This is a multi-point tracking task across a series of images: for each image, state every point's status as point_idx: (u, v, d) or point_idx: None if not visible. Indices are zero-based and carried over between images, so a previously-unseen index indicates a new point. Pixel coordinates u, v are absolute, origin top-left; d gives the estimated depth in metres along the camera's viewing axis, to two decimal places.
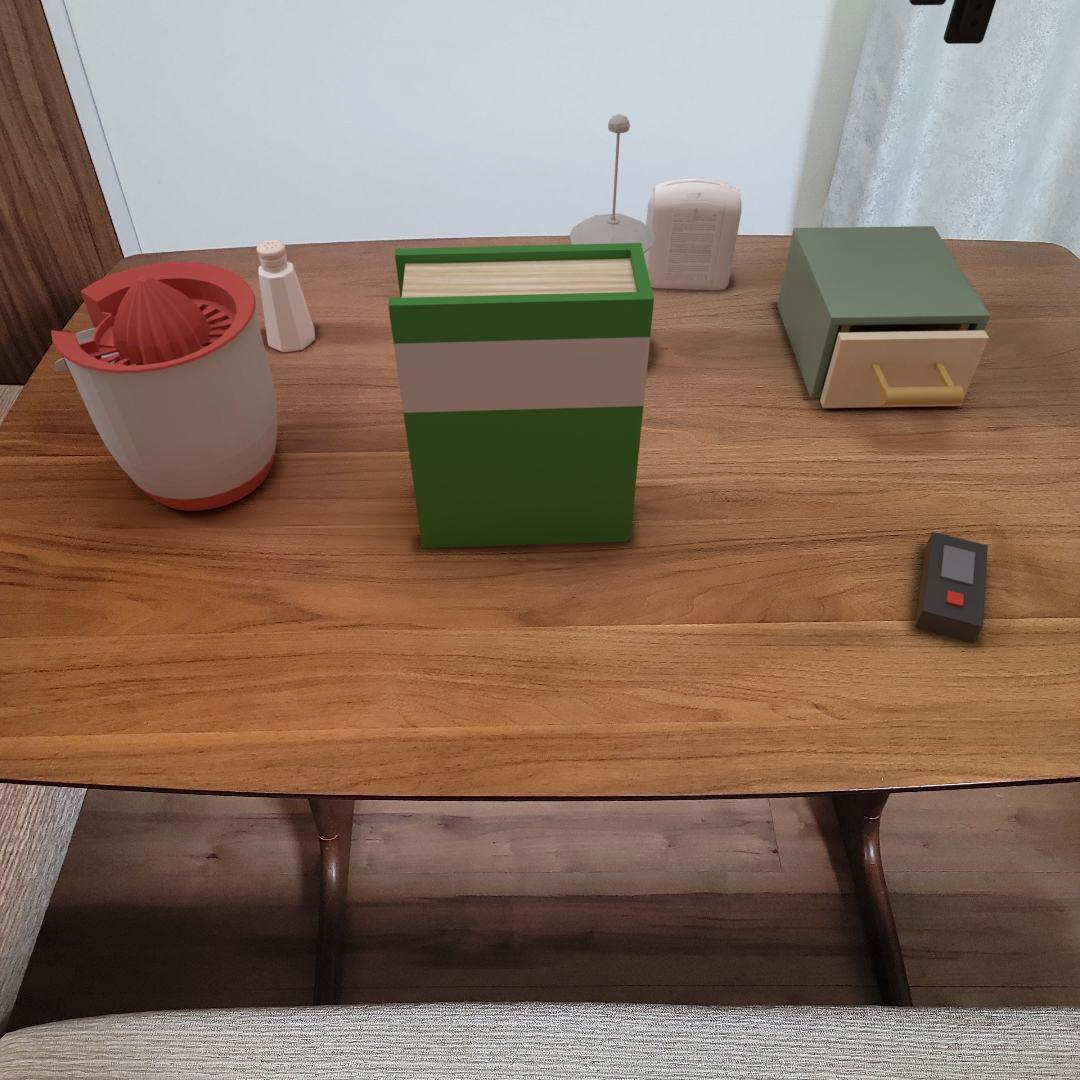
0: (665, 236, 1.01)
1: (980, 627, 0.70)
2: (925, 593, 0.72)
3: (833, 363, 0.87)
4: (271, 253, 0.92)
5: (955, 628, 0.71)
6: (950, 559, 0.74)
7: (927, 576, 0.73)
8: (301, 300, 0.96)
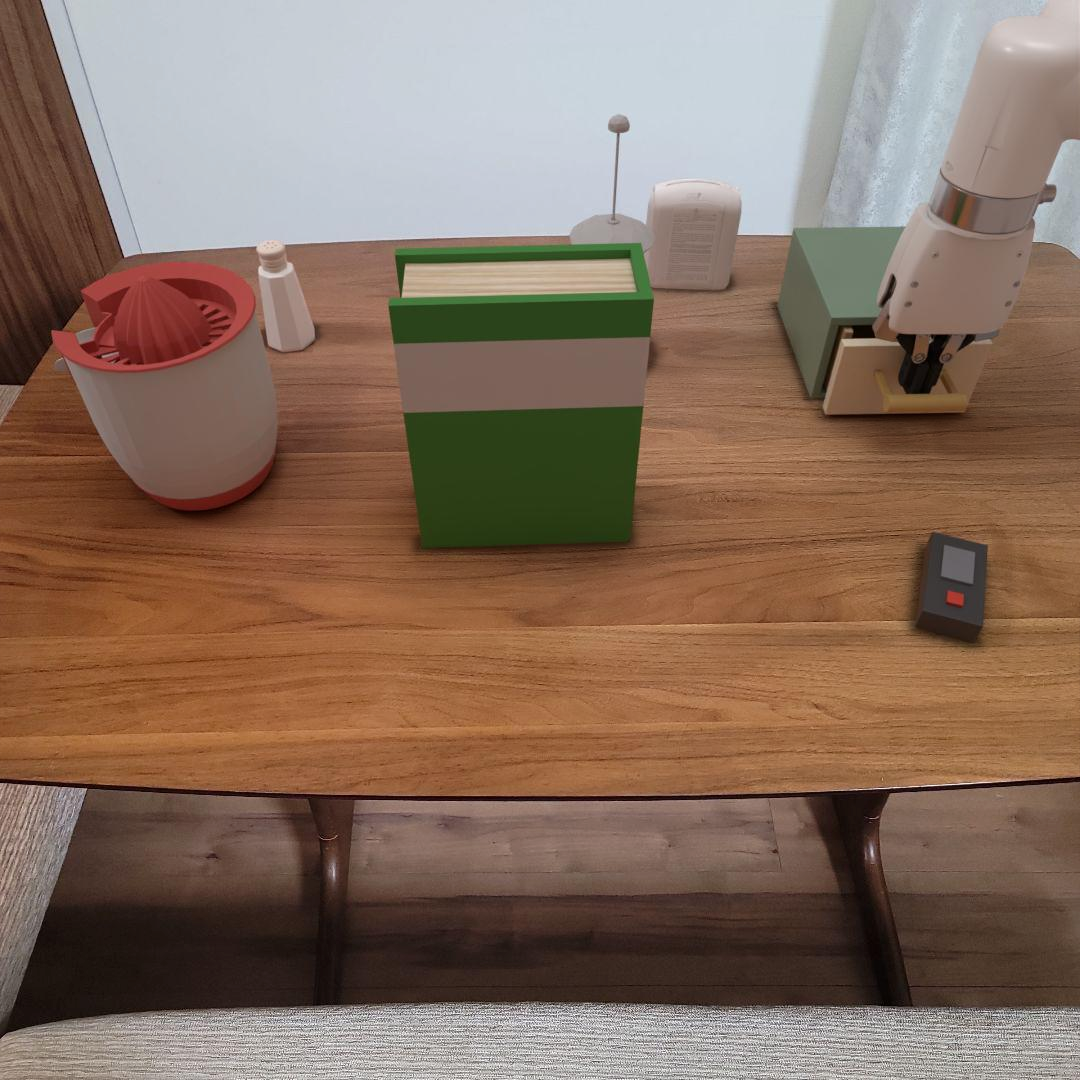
0: (665, 236, 1.01)
1: (980, 627, 0.70)
2: (925, 593, 0.72)
3: (836, 370, 0.86)
4: (271, 253, 0.92)
5: (955, 628, 0.71)
6: (950, 559, 0.74)
7: (927, 576, 0.73)
8: (301, 300, 0.96)
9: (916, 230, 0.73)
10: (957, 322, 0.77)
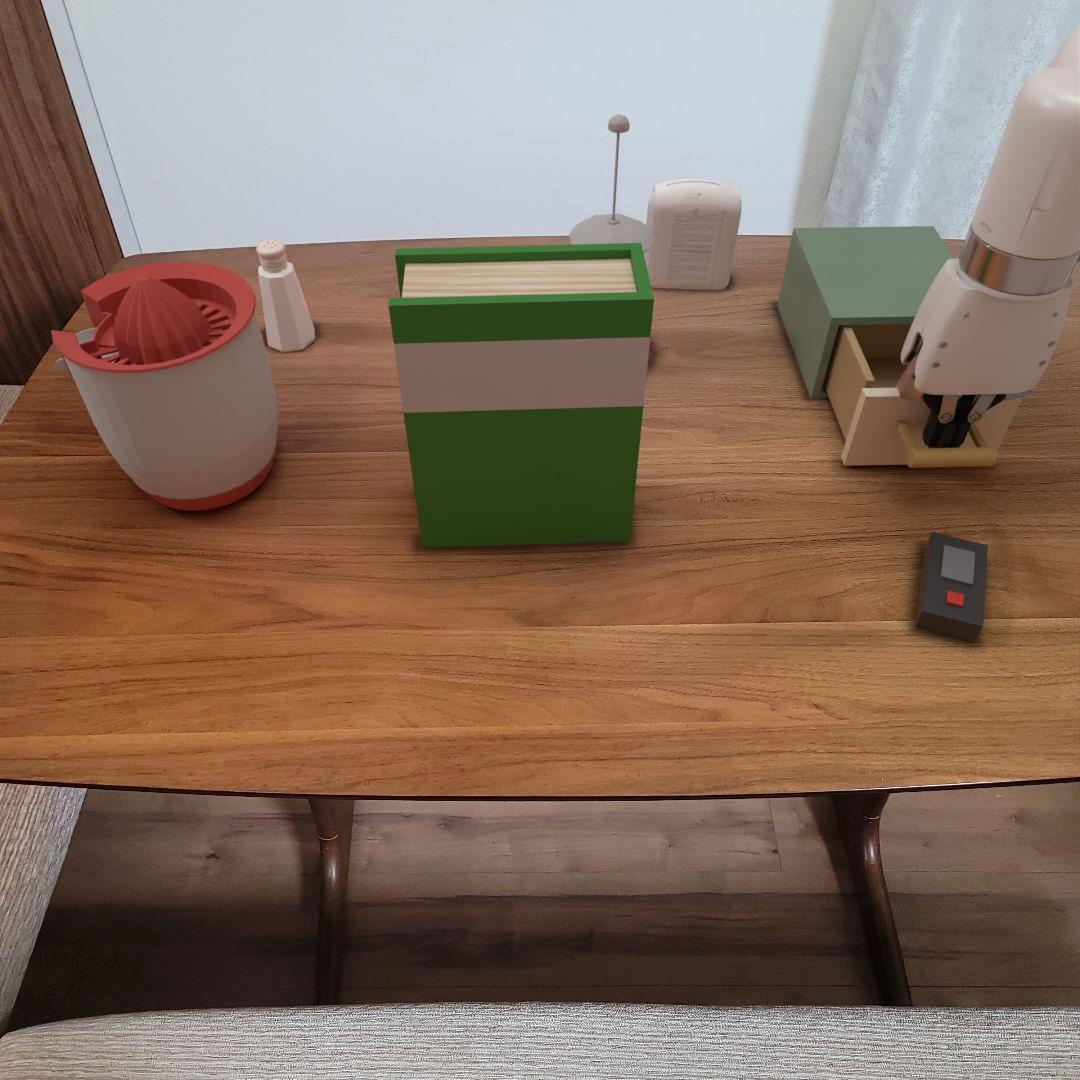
0: (665, 236, 1.01)
1: (980, 627, 0.70)
2: (925, 593, 0.72)
3: (856, 420, 0.81)
4: (271, 253, 0.92)
5: (955, 628, 0.71)
6: (950, 559, 0.74)
7: (927, 576, 0.73)
8: (301, 300, 0.96)
9: (944, 289, 0.69)
10: (987, 382, 0.73)
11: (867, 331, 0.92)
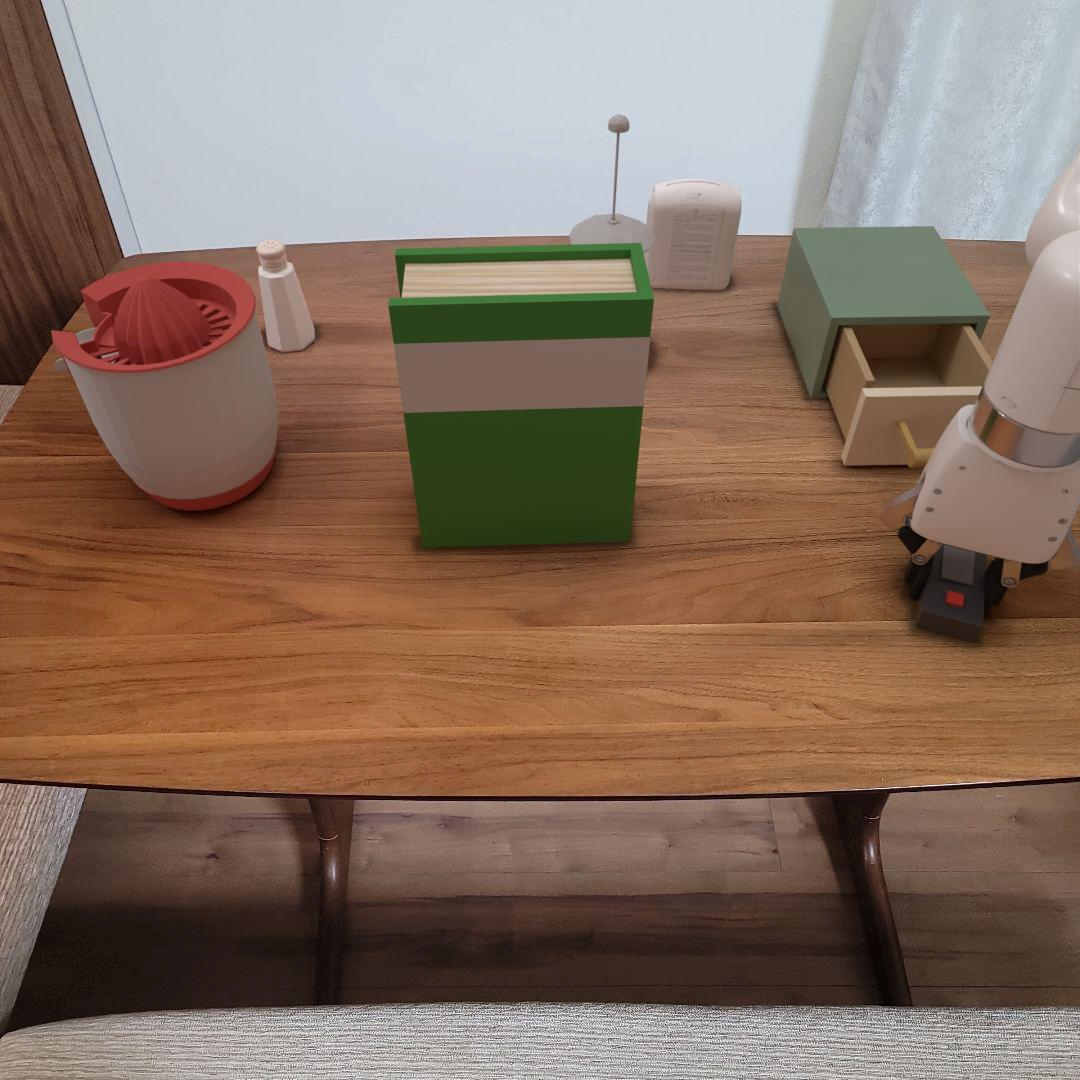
0: (665, 236, 1.01)
1: (980, 627, 0.70)
2: (925, 593, 0.72)
3: (856, 420, 0.81)
4: (271, 253, 0.92)
5: (955, 628, 0.71)
6: (950, 559, 0.74)
7: None
8: (301, 300, 0.96)
9: (950, 434, 0.64)
10: (989, 543, 0.67)
11: (867, 331, 0.92)
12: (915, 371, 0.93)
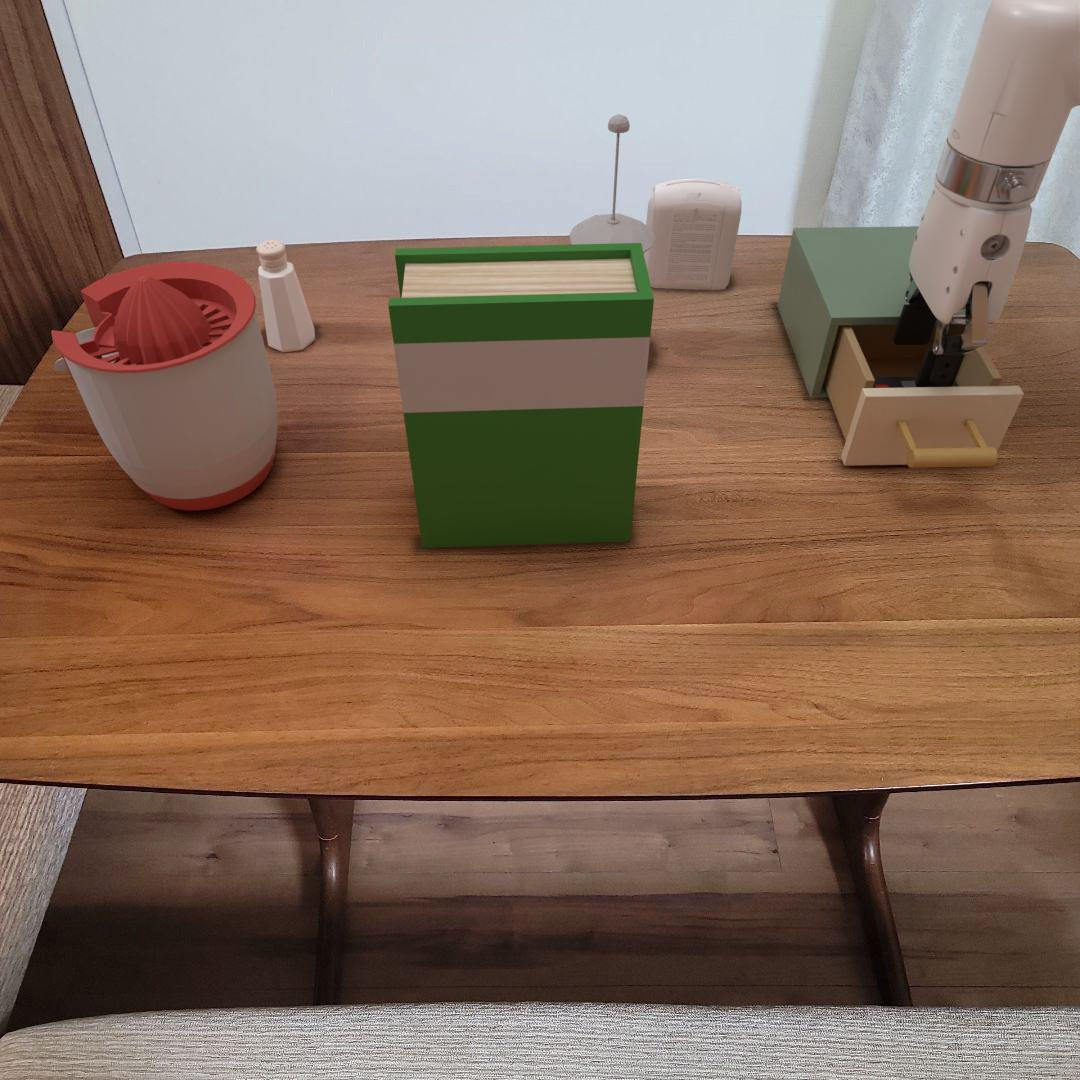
0: (665, 236, 1.01)
1: None
2: (875, 377, 0.88)
3: (856, 420, 0.81)
4: (271, 253, 0.92)
5: None
6: None
7: (895, 377, 0.88)
8: (301, 300, 0.96)
9: None
10: (926, 285, 0.77)
11: (867, 331, 0.92)
12: (915, 371, 0.93)
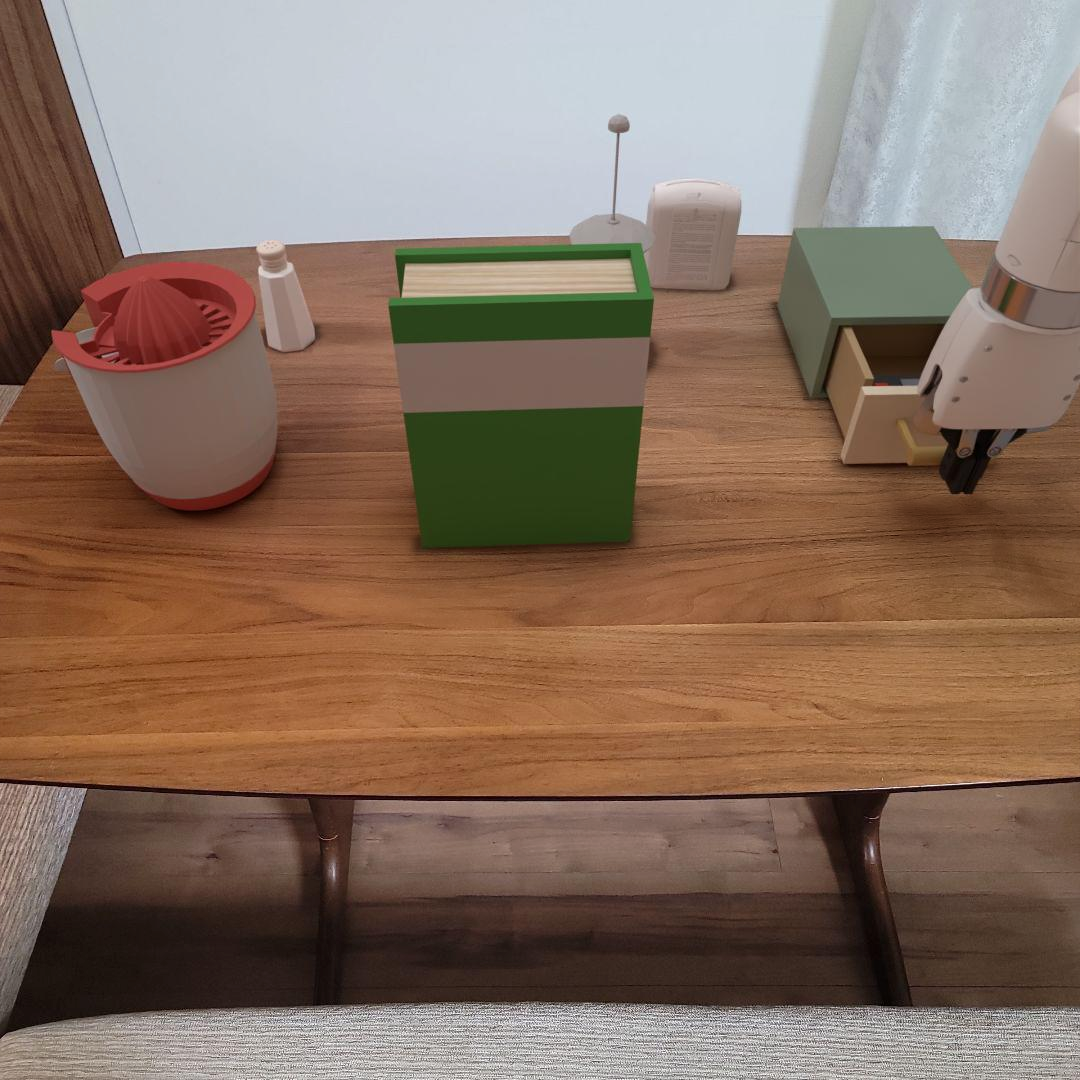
0: (665, 236, 1.01)
1: None
2: None
3: (855, 418, 0.81)
4: (271, 253, 0.92)
5: None
6: None
7: (894, 375, 0.88)
8: (301, 300, 0.96)
9: (966, 320, 0.65)
10: (1009, 417, 0.69)
11: (866, 329, 0.92)
12: (914, 369, 0.93)
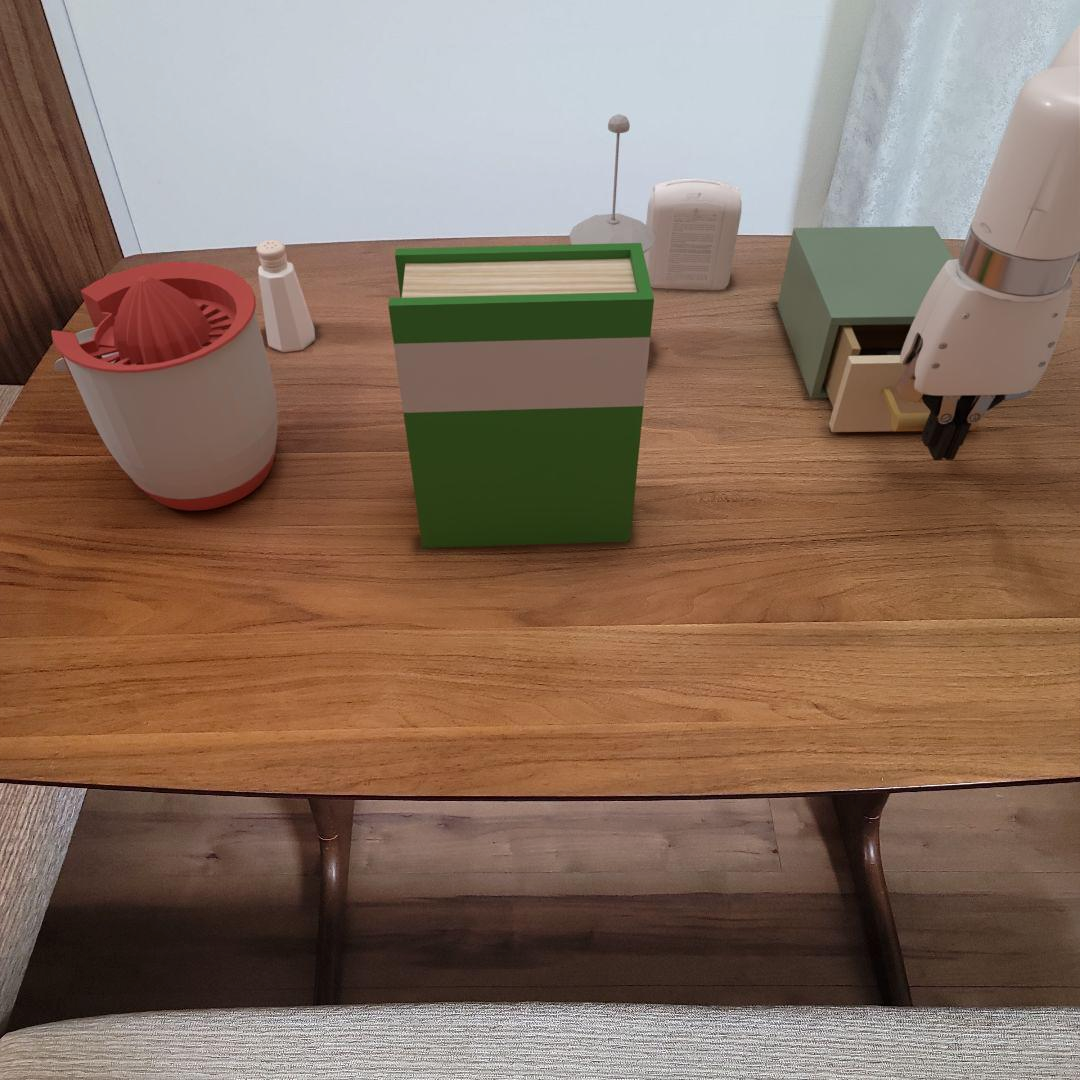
0: (665, 236, 1.01)
1: None
2: (862, 348, 0.91)
3: (843, 387, 0.84)
4: (271, 253, 0.92)
5: None
6: None
7: None
8: (301, 300, 0.96)
9: (945, 289, 0.69)
10: (987, 383, 0.73)
11: None
12: (901, 343, 0.96)
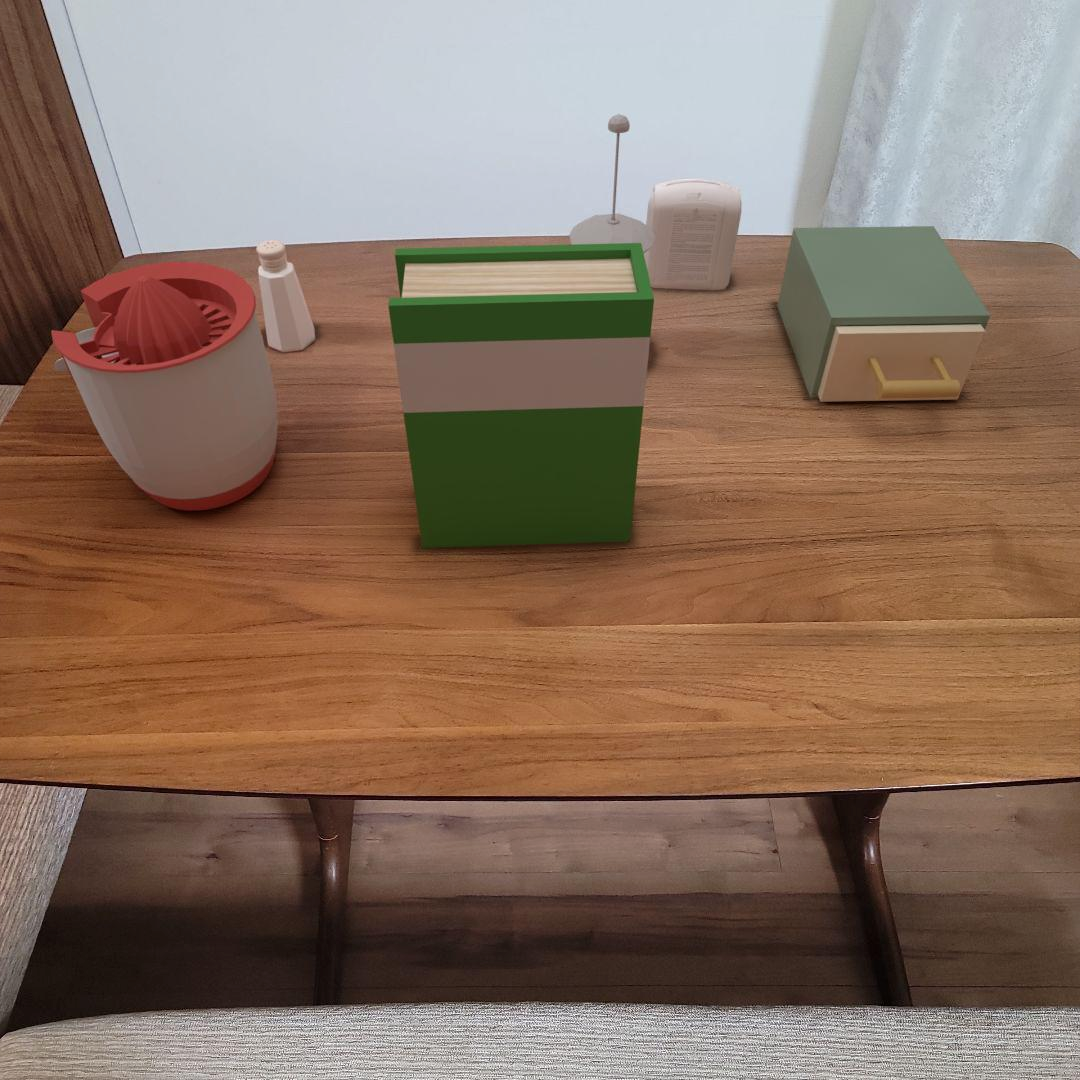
0: (665, 236, 1.01)
1: None
2: None
3: (830, 357, 0.88)
4: (271, 253, 0.92)
5: None
6: None
7: None
8: (301, 300, 0.96)
9: None
10: None
11: None
12: None
